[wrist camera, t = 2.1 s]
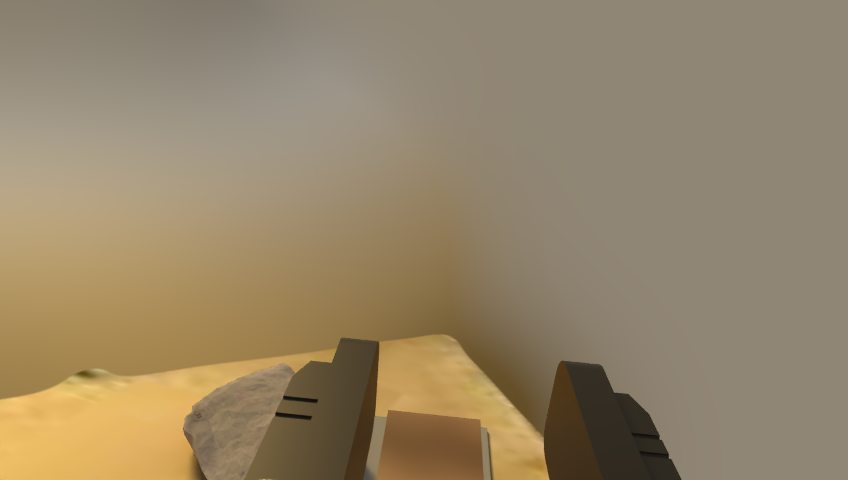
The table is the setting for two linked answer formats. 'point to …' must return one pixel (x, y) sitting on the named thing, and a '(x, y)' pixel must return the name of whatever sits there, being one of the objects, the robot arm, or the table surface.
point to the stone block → (235, 422)
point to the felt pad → (376, 448)
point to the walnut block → (430, 448)
